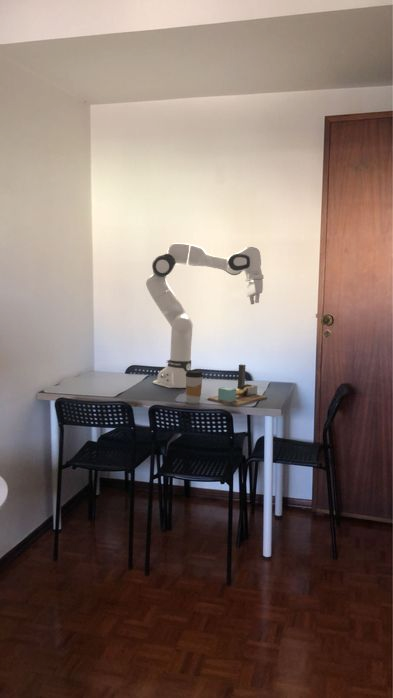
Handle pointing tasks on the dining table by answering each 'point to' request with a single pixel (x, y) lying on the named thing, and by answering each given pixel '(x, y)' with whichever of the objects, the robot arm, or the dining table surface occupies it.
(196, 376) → the coffee cup
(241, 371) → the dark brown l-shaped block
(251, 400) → the board
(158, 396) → the dining table surface
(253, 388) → the sleeve
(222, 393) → the mint green block
